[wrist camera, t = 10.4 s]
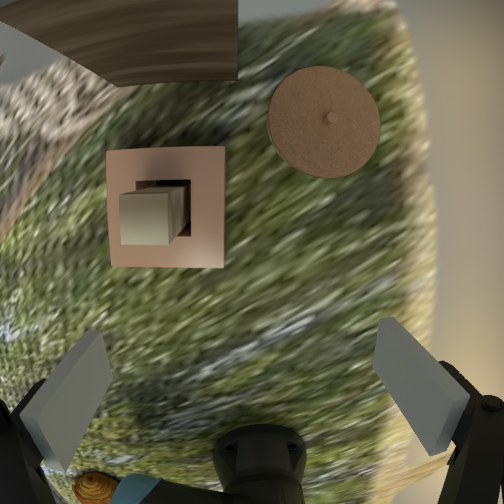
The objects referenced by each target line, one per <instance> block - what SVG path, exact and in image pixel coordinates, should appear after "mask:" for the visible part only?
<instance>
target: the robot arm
mask: <svg viewBox="0 0 504 504" xmlns="http://www.w3.org/2000/svg"><path fill="white" fill-rule="evenodd" d="M372 367H373V369H374V370H375V372H376V373H377V375H378V376H379V378H380V379H381V381H382V382H383V384H384V386H385V387H386V389H387V390H388V392H389V393H390V395H391V396H392V398H393V399H394V401H395V402H396V404H397V405H398V407H399V409H400V410H401V412H402V413H403V415H404V416H405V418H406V419H407V421H408V423H409V424H410V426H411V427H412V429H413V430H414V432H415V434H416V435H417V437H418V438H419V440H420V442H421V443H422V445H423V446H424V448H425V450H426V451H427V453H428V454H429V456H433V455H436V454H439V453H441V452H444V451H446V450H447V448H448V446H449V444H450V442H451V440H452V441H453V442H454V444H455V445H456V447H455V449H454V451H453V453H452V455H451V457H450V459H449V461H448V463H447V464H446V465H449V464H450V465H449V469H448V472H447V476H446V479H445V482H444V485H443V488H442V491H441V495H440V498H439V501H438V504H497V503H498V498H499V492H500V485H501V489H502V499H503V504H504V402H503V401H502V400H501V399H500V398H498V397H496V396H492V395H484V396H482V395H481V394H480V393H479V392H478V391H477V390H476V389H475V388H474V386H473V385H472V384H471V383H470V382H469V381H468V380H467V379H465V378H464V376H462V374H459V371H458V370H457V369H456V368H455V367H454V366H452V365H450V364H449V363H447V362H445V361H439V362H438V361H437V360H436V359H435V358H434V357H433V356H432V355H431V354H430V353H429V352H428V351H427V350H426V349H425V348H424V347H423V346H422V345H421V344H420V343H419V342H418V341H417V340H416V339H415V338H414V337H413V336H412V335H411V334H410V333H409V332H408V331H407V330H406V329H405V328H404V327H403V326H402V325H401V324H400V323H399V322H398V321H397V320H396V319H395V318H394V317H390V318H382V319H379V325H378V333H377V340H376V347H375V353H374V359H373V365H372ZM112 380H113V375H112V371H111V368H110V364H109V360H108V356H107V352H106V348H105V344H104V340H103V336H102V332H101V331H96V330H87V331H86V333H85V334H84V335H83V336H82V337H81V338H80V340H79V341H78V342H77V343H76V344H75V346H74V347H73V348H72V349H71V350H70V352H69V353H68V354H67V355H66V356H65V358H64V359H63V360H62V361H61V362H60V364H59V365H58V366H57V367H56V369H55V370H54V371H53V372H52V374H51V375H50V376H49V377H48V378H47V379H42V380H40V381H39V382H37V383H36V384H34V385H33V387H32V388H31V389H30V390H29V393H27V394H26V395H25V397H24V399H22V400H21V402H20V403H19V404H18V405H17V407H16V408H15V409H14V410H13V412H12V413H11V414H10V412H9V410H8V408H7V406H6V404H5V402H4V401H3V400H1V399H0V504H56V502H55V500H54V497H53V495H52V492H51V490H50V487H49V485H48V482H47V480H46V477H45V474H44V471H43V469H42V468H41V466H40V463H41V461H42V460H43V459H44V461H45V462H46V464H47V465H48V467H49V468H50V469H54V470H57V471H61V472H65V473H66V471H67V469H68V467H69V465H70V463H71V461H72V459H73V456H74V454H75V452H76V450H77V448H78V446H79V444H80V442H81V440H82V438H83V436H84V434H85V432H86V430H87V428H88V426H89V424H90V422H91V420H92V418H93V416H94V414H95V412H96V410H97V408H98V407H99V405H100V403H101V401H102V399H103V397H104V395H105V393H106V391H107V389H108V387H109V386H110V384H111V382H112ZM306 459H307V455H306V450H305V445H304V442H303V440H302V439H301V437H300V436H299V435H298V434H296V433H295V432H293V431H291V430H289V429H287V428H284V427H280V426H275V425H251V426H246V427H242V428H239V429H236V430H233V431H231V432H229V433H227V434H226V435H224V436H223V437H222V438H221V439H220V440H219V441H218V442H217V444H216V445H215V448H214V456H213V463H214V467H215V470H216V472H217V475H218V477H219V480H220V482H221V485H222V487H223V492H219V491H214V490H208V489H202V488H197V487H192V486H188V485H183V484H179V483H175V482H170V481H166V480H163V478H161V477H159V478H155V477H150V476H146V475H142V474H137V473H132V474H129V475H127V476H125V477H124V478H123V479H122V480H121V482H120V483H119V485H118V486H117V488H116V490H115V492H114V494H113V496H112V498H111V500H110V502H109V504H305V500H304V496H303V491H302V486H301V482H302V478H303V473H304V469H305V464H306Z"/></svg>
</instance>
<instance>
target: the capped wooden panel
mask: <svg viewBox="0 0 504 504" xmlns="http://www.w3.org/2000/svg"><path fill="white" fill-rule="evenodd" d="M0 21H2V22H4V23H6V24H8V25H10V26H12V27H13V28H15V29H17V30H19V31H21V32H23V33H25V34H27V35H29V36H30V37H32V38H34V39H36V40H38V41H40V42H41V43H43V44H45V45H47V46H49V47H50V48H52V49H54V50H56V51H58V52H59V53H61V54H63V55H65V56H66V57H68V58H70V59H71V60H73V61H75V62H77V63H78V64H80V65H82V66H83V67H85V68H87V69H88V70H90V71H92V72H94V73H95V74H97V75H98V76H100V77H102V78H103V79H105V80H107V81H108V82H110V83H112V84H113V85H115V86H116V87H125V86H134V85H144V84H155V83H169V82H187V81H238V0H0Z"/></svg>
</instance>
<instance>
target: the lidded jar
mask: <svg viewBox="0 0 504 504" xmlns="http://www.w3.org/2000/svg"><path fill="white" fill-rule="evenodd" d="M380 128H381V123H380V115H379V111H378V108H377V105H376V103H375V101H374V99H373V97H372V95H371V94H370V92H369V91H368V90H367V88H366V87H365V86H364V85H363V84H362V83H361V82H360V81H359V80H358V79H356V78H355V77H353V76H352V75H350V74H349V73H347V72H345V71H342V70H340V69H337V68H334V67H328V66H311V67H306V68H303V69H300V70H297V71H296V72H294V73H292V74H290V75H289V76H288V77H286V78H285V79H284V80H283V81H282V82H281V83H280V84H279V85H278V87H277V88H276V90H275V92H274V93H273V95H272V98H271V100H270V103H269V107H268V114H267V129H268V134H269V137H270V140H271V143H272V145H273V147H274V149H275V150H276V152H277V153H278V154H279V156H280V157H281V158H282V159H283V160H284V161H285V162H286V163H288V164H289V165H290V166H292V167H293V168H295V169H297V170H299V171H301V172H303V173H305V174H308V175H311V176H315V177H319V178H338V177H342V176H346V175H349V174H351V173H353V172H355V171H357V170H358V169H360V168H361V167H362V166H363V165H364V164H366V163H367V162H368V160H369V159H370V158H371V156H372V155H373V153H374V151H375V149H376V147H377V144H378V142H379V137H380Z"/></svg>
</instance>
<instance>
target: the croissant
mask: <svg viewBox="0 0 504 504" xmlns="http://www.w3.org/2000/svg"><path fill="white" fill-rule="evenodd" d="M75 481H76V482H75V486H74V484H73V485H72V490H73V492H74V494H75V496H76V497H77V499H78V500H79V501H80V502H81V503H82V504H109V502H110V500H111V498H112V496H113V494H114V492H115V490H116V488H117V486H118V485H119V483H118V482H117V481H116V480H113V479H112V478H110V477H107V476H105V475H103V474H101V473H88V474H83V476H82V477H80V478H78V479H77V480H75Z"/></svg>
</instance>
